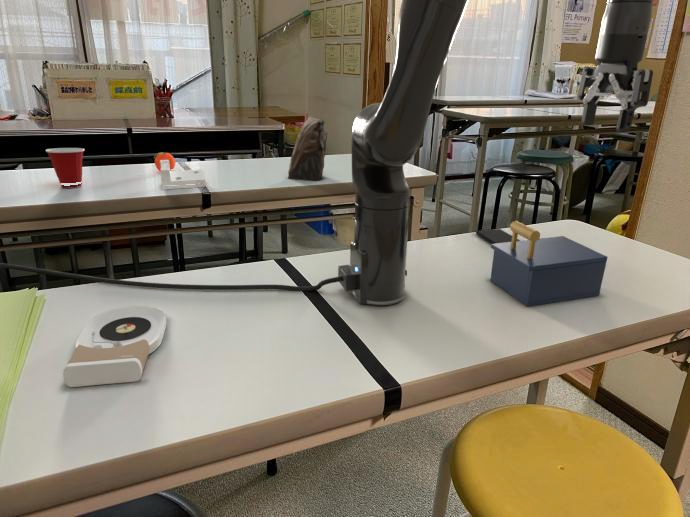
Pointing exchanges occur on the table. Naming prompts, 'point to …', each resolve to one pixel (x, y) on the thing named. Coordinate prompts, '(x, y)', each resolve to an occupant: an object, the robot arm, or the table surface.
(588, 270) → the dark blue box
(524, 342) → the table surface
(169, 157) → the tomato
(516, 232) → the box lid
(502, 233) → the smartphone
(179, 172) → the bracket
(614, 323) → the table surface
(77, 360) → the record player
